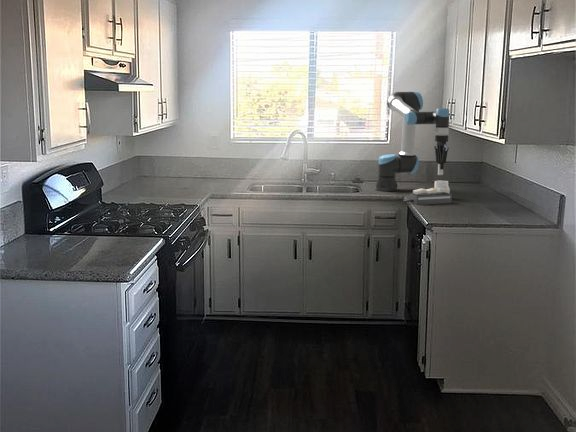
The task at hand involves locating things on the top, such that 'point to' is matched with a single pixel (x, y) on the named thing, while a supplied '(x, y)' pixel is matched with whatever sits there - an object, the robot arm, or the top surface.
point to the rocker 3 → (442, 190)
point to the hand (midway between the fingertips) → (440, 174)
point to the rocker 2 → (431, 190)
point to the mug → (441, 185)
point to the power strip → (430, 198)
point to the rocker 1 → (419, 191)
